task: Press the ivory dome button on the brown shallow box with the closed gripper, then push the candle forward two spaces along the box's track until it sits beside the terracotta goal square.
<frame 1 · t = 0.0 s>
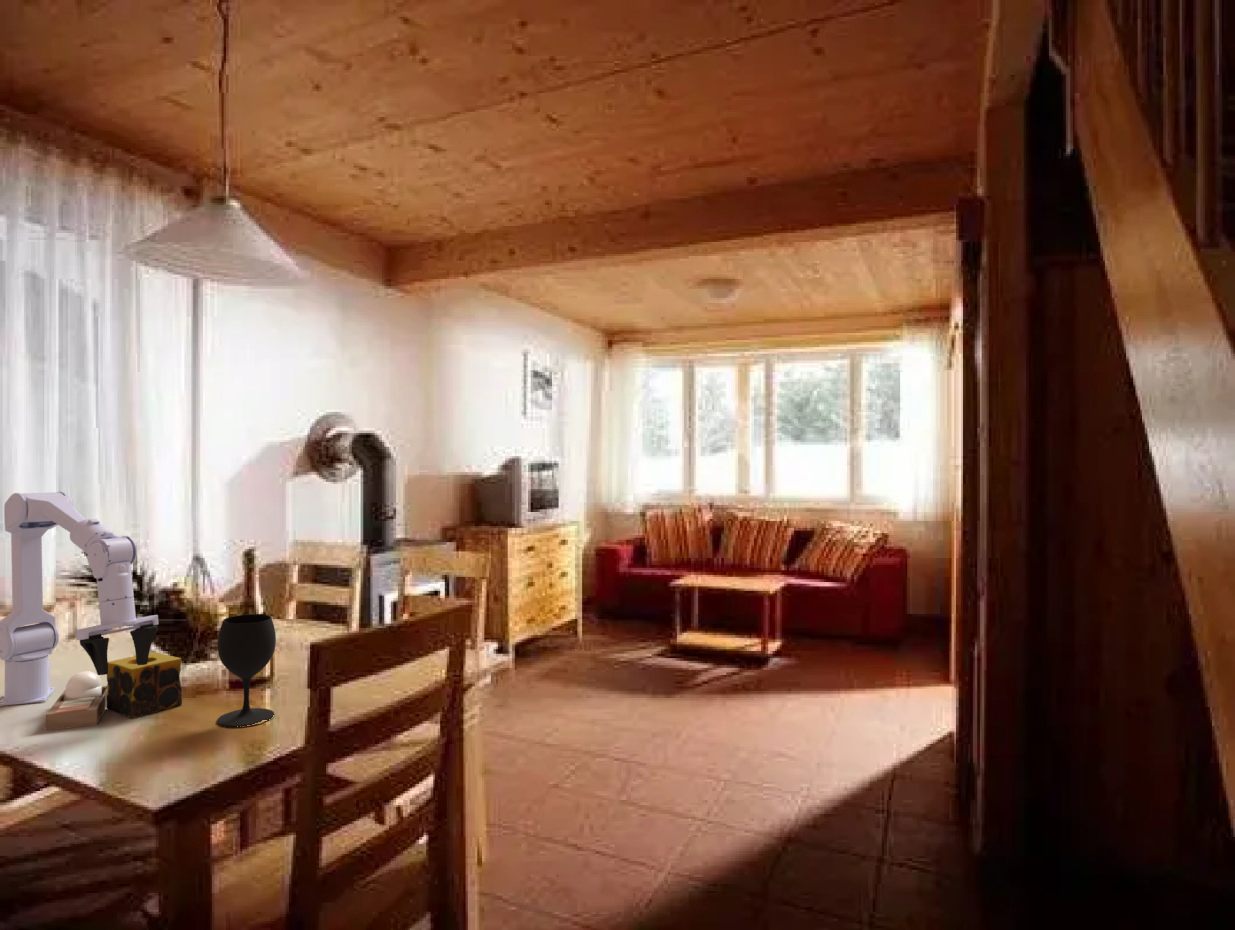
hand: (123, 669, 146), 11 cm above the table, tool pointing down, fingers open, 7 cm apart
dome button: (83, 686, 154), point 5 cm above the table, slide at 0.0 cm
wine glass: (246, 719, 151), on the table
brown shallow box: (80, 714, 151), on the table
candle: (144, 708, 156), on the table
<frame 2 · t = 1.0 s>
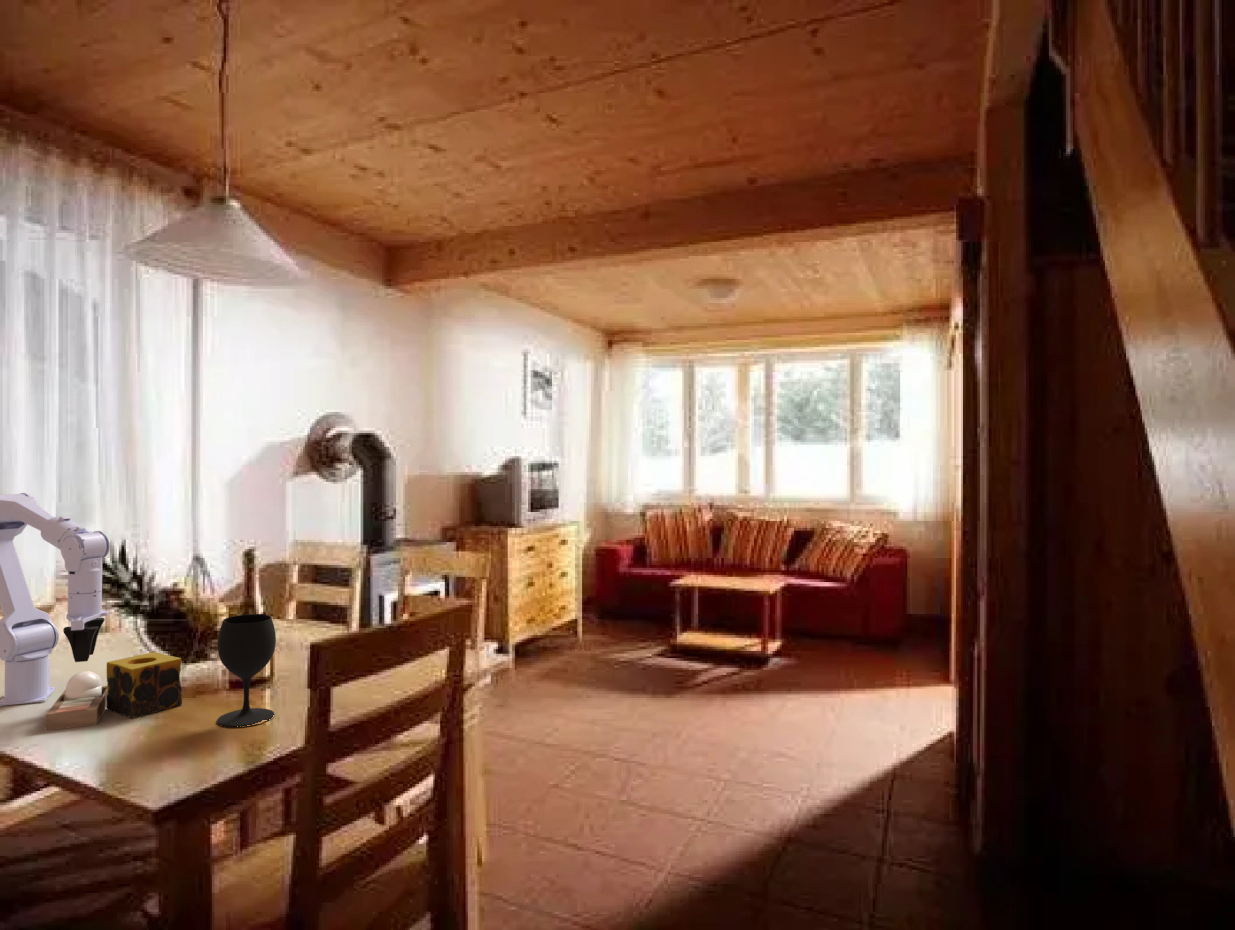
hand: (84, 658, 154), 10 cm above the table, tool pointing down, fingers open, 5 cm apart
nothing on the table moved.
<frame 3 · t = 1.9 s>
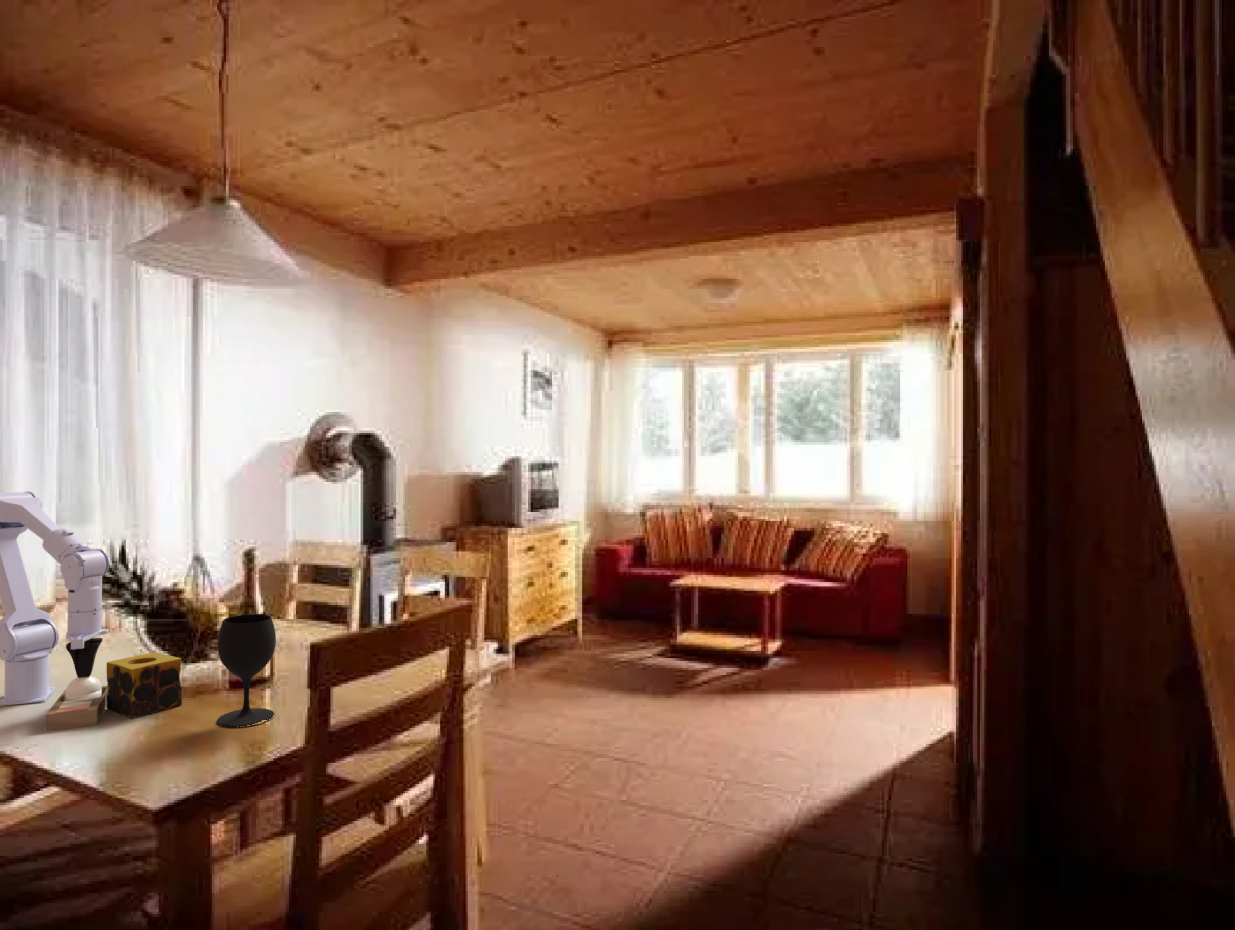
hand: (84, 676, 154), 7 cm above the table, tool pointing down, fingers closed, pressing on dome button
dome button: (83, 690, 154), point 4 cm above the table, slide at 0.9 cm, touching gripper
everything else where it was.
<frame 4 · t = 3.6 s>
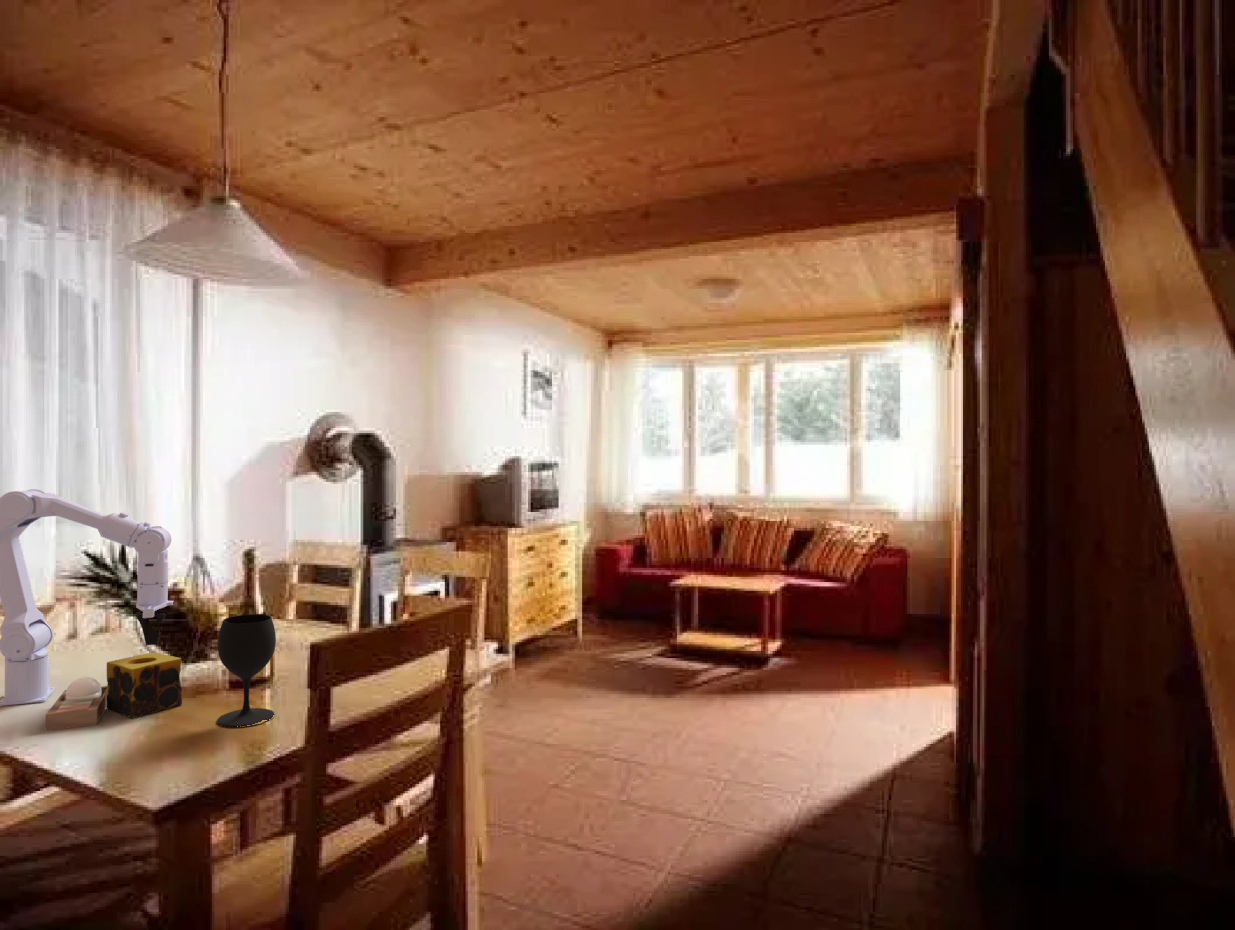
hand: (152, 644, 166), 10 cm above the table, tool pointing down, fingers closed
dome button: (83, 692, 154), point 3 cm above the table, slide at 1.2 cm
everything else where it was.
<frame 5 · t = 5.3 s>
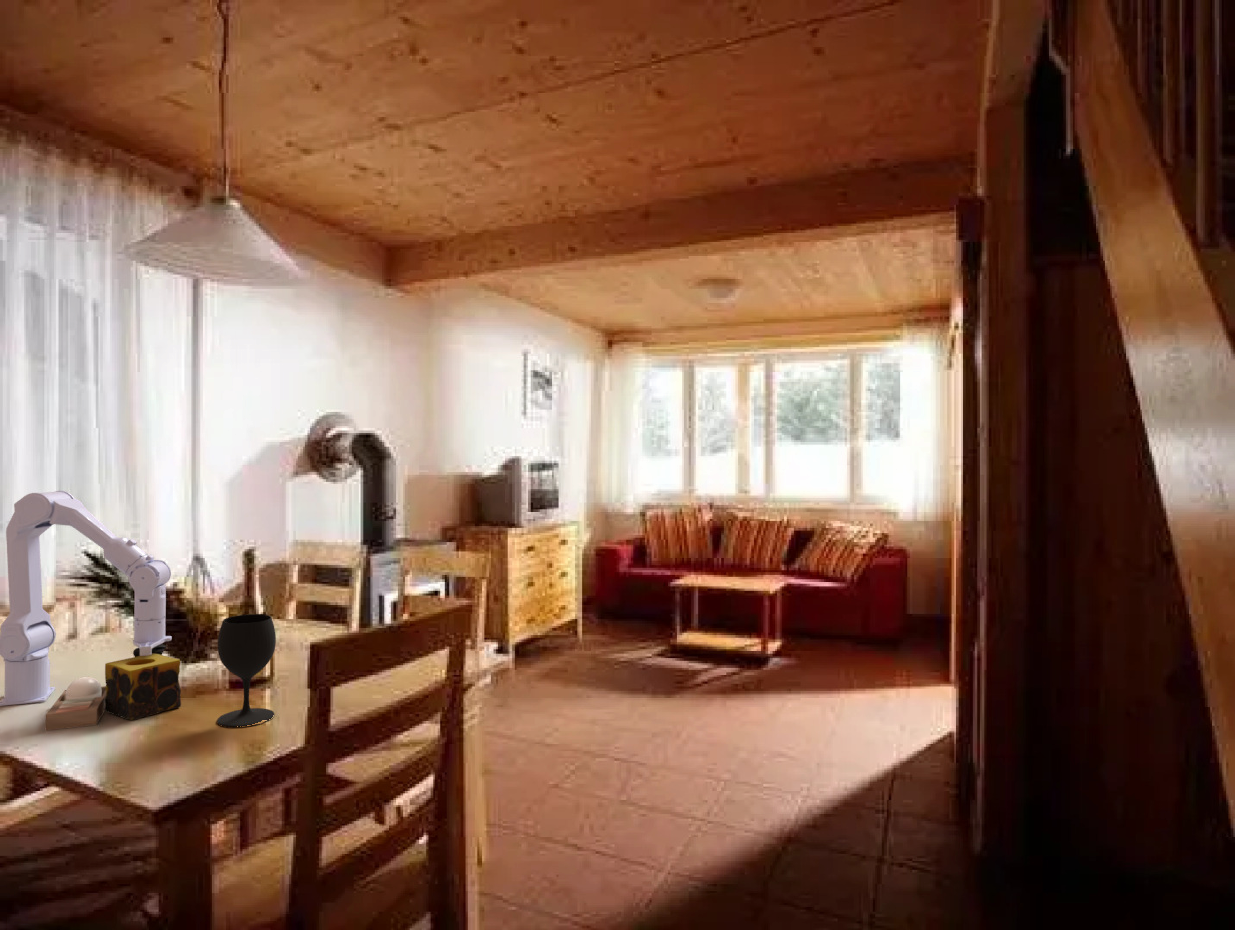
hand: (149, 681, 162), 3 cm above the table, tool pointing down, fingers closed
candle: (143, 710, 154), on the table, touching gripper
everything else where it was.
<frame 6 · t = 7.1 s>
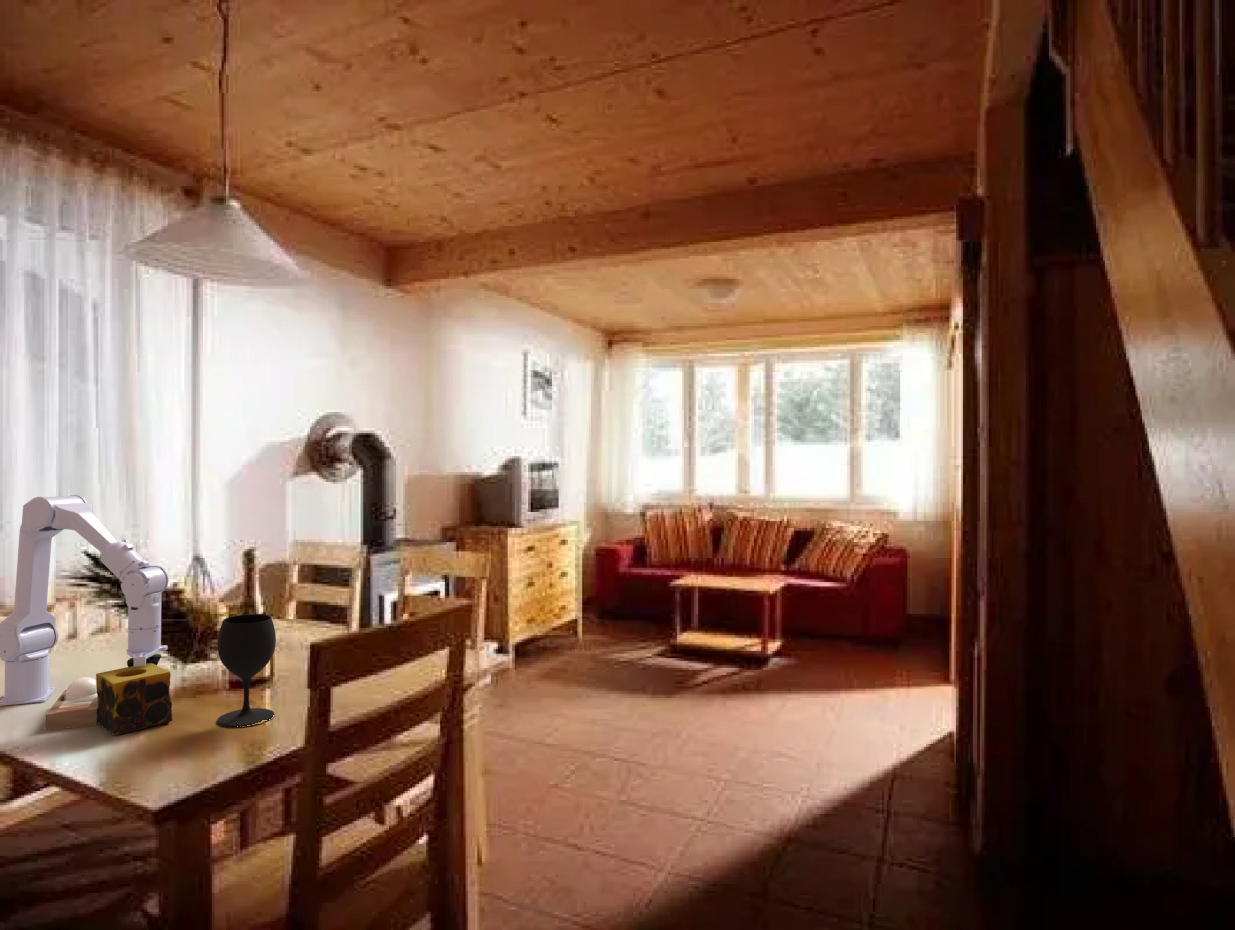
hand: (143, 692, 155), 3 cm above the table, tool pointing down, fingers closed
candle: (134, 723, 147), on the table, touching brown shallow box, gripper
everything else where it was.
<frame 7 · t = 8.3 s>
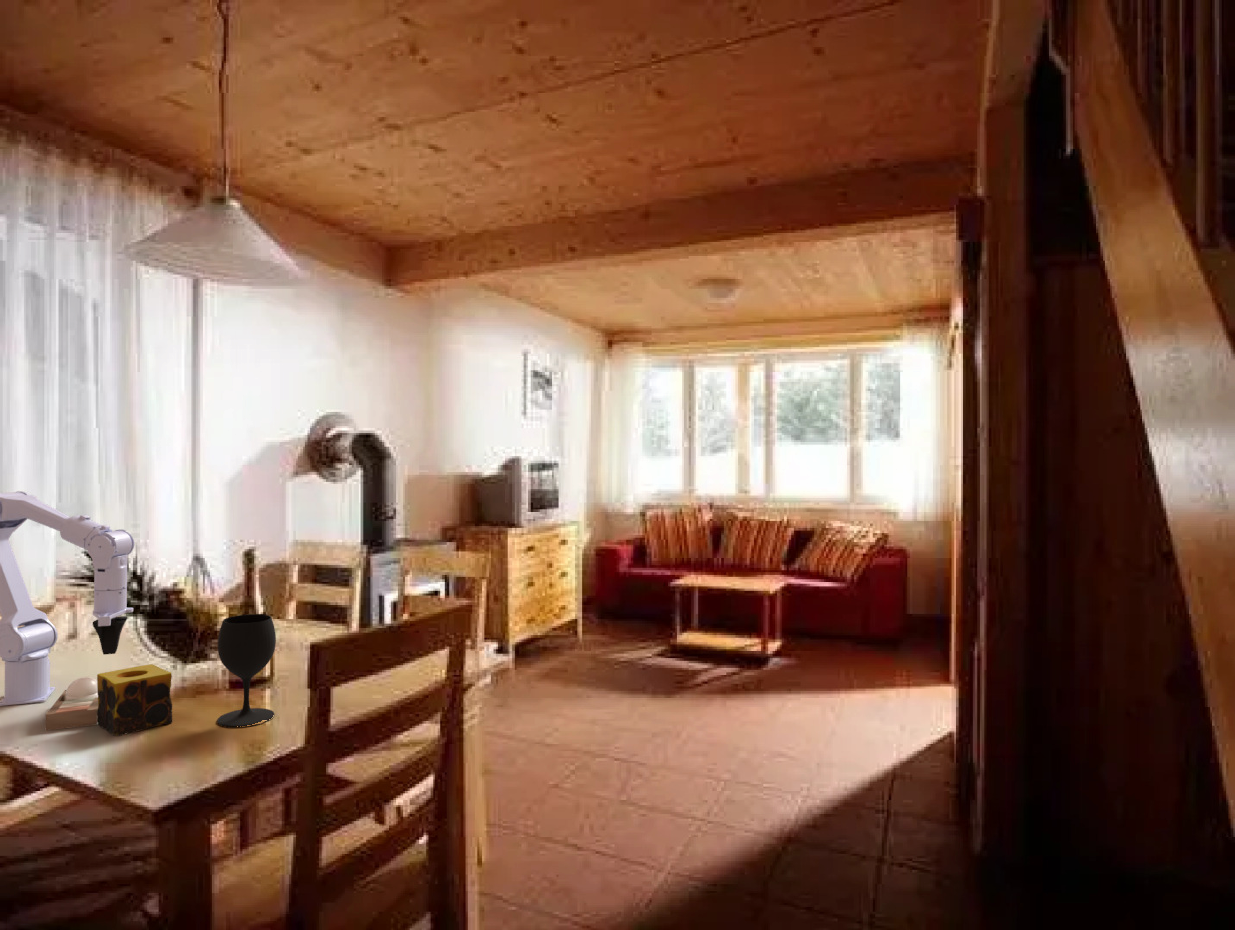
hand: (109, 653, 158), 10 cm above the table, tool pointing down, fingers closed
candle: (134, 725, 147), on the table
everything else where it was.
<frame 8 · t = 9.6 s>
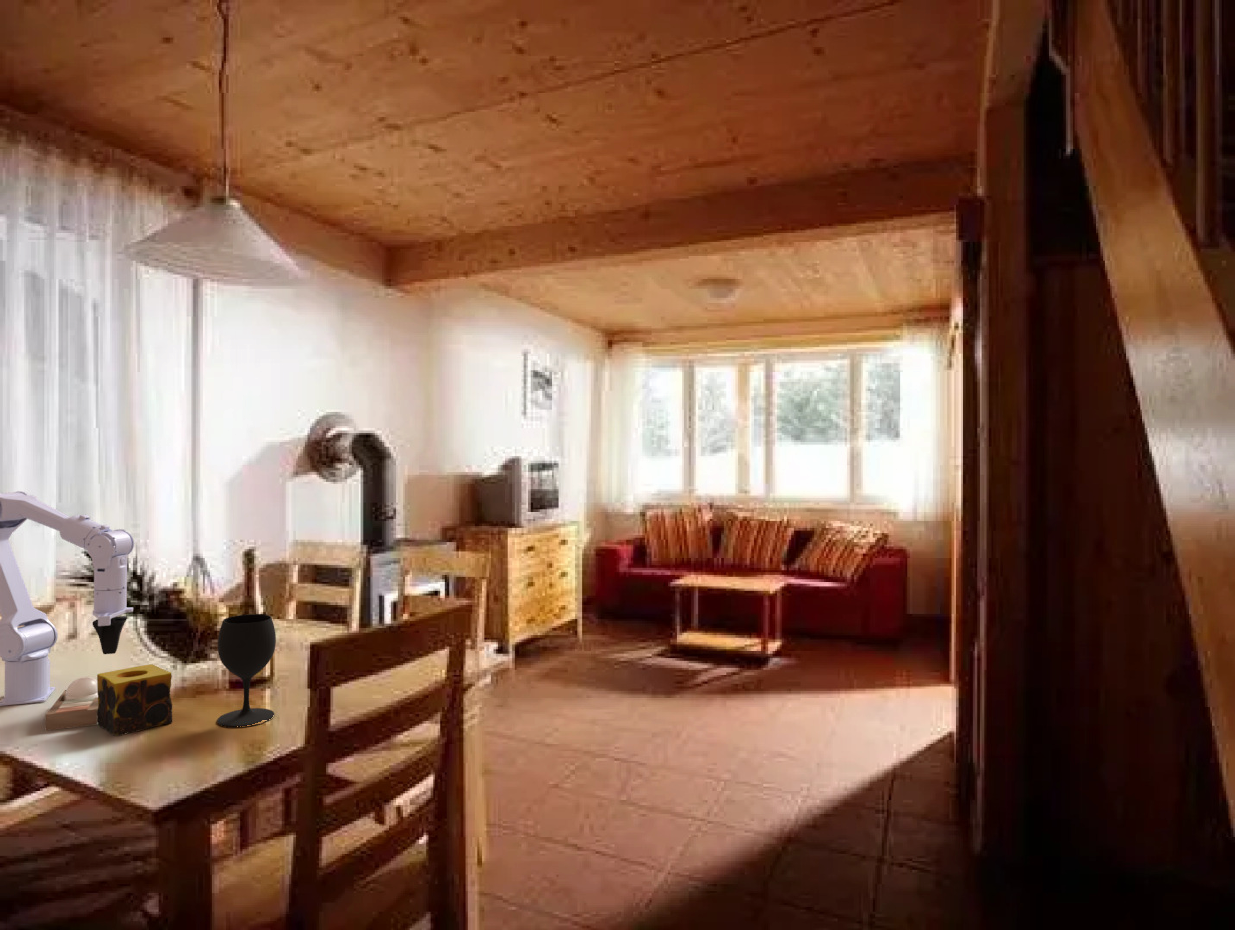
hand: (109, 653, 158), 10 cm above the table, tool pointing down, fingers closed
nothing on the table moved.
at the end: dome button slide at 1.2 cm; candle inside the target area (2.5 cm from its centre), on the table; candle tilted 0° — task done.
